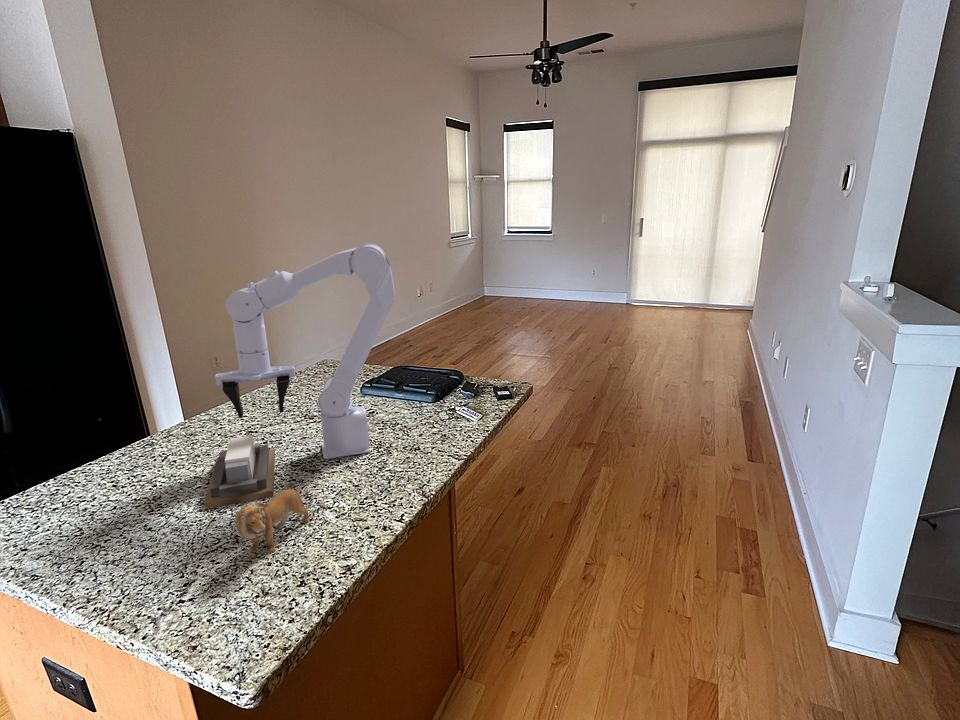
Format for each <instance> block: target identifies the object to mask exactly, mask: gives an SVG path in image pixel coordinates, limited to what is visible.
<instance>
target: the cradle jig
mask: <svg viewBox="0 0 960 720" xmlns="http://www.w3.org/2000/svg"><path fill="white" fill-rule="evenodd" d="M254 448H255V455H256V461H255V468H254V475H253V480H247V481H241V482H235V483H229V484H228V482H227V477H226V471H225V467H226V465H225V457H226V454H227V450H228V449H227V450H221V451H219V454H218V457H216V459H215V463H214V466H213V470H212V474H211V477H210V480H209V484H208V489H207V492H206V495H205V498H204V502H203V504H204V509H205V510H207V509H211V508H217V507H223V506H229V505H233V504H240V503H244V502H250V501H255V500H256V501H257V500H262V499H266V498H274V497H275V496H274V495H275V494H274V491H275V488H274V487H275V472H276V471H275V469H276V450H275V448H272V449H271V448H270V447H269V443H268V444H267V443H266V444H261V443H258V444H254Z"/></svg>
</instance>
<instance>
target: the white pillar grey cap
mask: <svg viewBox="0 0 960 720" xmlns="http://www.w3.org/2000/svg"><path fill="white" fill-rule="evenodd" d="M253 436H254V435H252V434H251V435H246V436H238V437H233V438H231V437H230V439H229V444H228V448H227V454H226V457H225V465H226V467H225V471H226V477H227V482H228V484H229V483H235V482H241V481H247V480H253V475H254V468H255V461H256V455H255V448H254V445H255V444H254V443H255V442H254V437H253Z"/></svg>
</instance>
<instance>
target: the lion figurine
mask: <svg viewBox="0 0 960 720" xmlns="http://www.w3.org/2000/svg"><path fill="white" fill-rule="evenodd" d="M288 511H291V512H292V513H295V514H297V515H303V517H302V518H301V523H302V524H307V523H309V522H310V515H309V511H308V508H307V507H304V504H303V499H302V497H301V494H300V493H299V492H298V491H297V490H295V489H293V488H290V489H285V490H281V491H279V492H278V493H277V494H276V495H275V496H273V497H272V499H271V500H269V501H268V502H266V503H265V504H264V503H262V502H257V503H249V504H246V505H244V506H243V507H241V508H240V509H239V510H238V511H237V515H236V516H235V517H234V520H235V527H236V530H237V531H238V533H239V535H240V537H241V538H243V539H244V540H246V541H251V544H252V546H250V547H249V552H250V553H256V552H257V551H258V550H259V548H260V547H259V546H260V541H259V540H261V539H263V537H264V538H265V541H266V545H265V547H266V549H265V551H266V553H267V554H272V553H274V552H275V550H276V547H275V543H274V531H273V530H274V526H275V525H276V526H275V527H276V529H279V530H280V529H282V528H284V527H285V526H286V523H287V521H288V519H289V512H288Z"/></svg>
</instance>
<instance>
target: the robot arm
mask: <svg viewBox="0 0 960 720" xmlns="http://www.w3.org/2000/svg"><path fill="white" fill-rule="evenodd" d="M353 273H354V274H355V275H356V276H357V277H358V279H360V280H361V282H362V283H363V284H364V286H365V288H366V290H367V293H368V296H369V300H368V302H367V304H366V306H365V309H364V311H363V312H362V314H361V317H360V319H359V320H358V323H357V325H356V327H355V329H354V332H353V334H352V335H351V337H350V340H349V342H348V344H347V347H346V348H345V351H344V353H343V355H342V357H341V359H340V361H339V363H338V365H337V367H336V369H335V371H334V373H333V374H332V375H330V376H328V378H326V380H325V381H324V384H323V388H322V390H321V392H320V393H319V396H318V397H317V398H318V399H317V404H318V407H319V411H320V420H321V431H322V432H321V433H322V438H323V442H321V450H322V456H323V459H324V460H331V459H336V458H343V457H348V456H354V455H360V454H367V453H369V452H371V448H370V432H369V424H368V423H369V421H368V417H367V411H366V408H365V406H359V407H358V406H356V404H355V403H354V401H353V400H352V396H353V394H354V391H355V390H354V389H355V384H356V382H357V380H358V377H359V375H360V373H361V370H362V369H363V367H364V365H365V362H366V361H367V358H368V357H369V354H370V352H371V351H372V349H373V346H374V344H375V342H376V340H377V338H378V336H379V333H380V331H381V329H382V328H383V326H384V323H385V322H386V319H387V318H388V315H389V313H390V311H391V310H392V307H393V305H394V303H395V299H396V291H395V284H394V279H393V273H392V267H391V261H390V260H389V258H388V256H387V254H386V253H385V251H384V250H383V248H382V247H381V246H379V245H377V244H375V243H365V244H363V245H361V246H359V247H358V249H357V247H353V248H349V249H346V250H342V251H340V252H339V251H338V252H337V253H334V254H332V255H330V256H328V257H326V258H324V259H321V260H320V261H318V262H315V263H314V264H311V265H309V266H307V267H304V268H303V269H301V270H299V271H297V272H294V273H290V272H288V271H285V270H281V271H280V272H278V270H275V271H272V272H270V273H269V277H266V278H264V279H262V280H260V281H257V282H256V283H254V282H253V281H251V282H249V283H247V284H246V286H247V287H245V288H244V287H243V288H241V289H239V290H236V291H234V292H233V293H232V294H230V296H229V297H228V298H227V300H226V302H225V309H226V312H227V313H228V315H229V316H230V317H231V320H232V327H233V334H234V335H233V336H234V341H235V349H236V354H237V362H238V368H239V369H238V370H232V371H227V372H221V373H216V374H215V375H214V377H215V379H214V380H215V385H216V387H217V386H218V387H219V386H222V392H223V393H224V394H225V396H226V397H227V398H228V400H230V402H231V403H232V405H233V407H234V409H235V410H236V413H237V416H238V419H243V418H244V409H243V408H244V407H243V403H242V400H241V394H240V393H241V392H240V384H239V383H243V382H253V381H255V382H256V381H262V380H263V381H265V380H272V379H276V382H275V383H276V389H277V395H278V410H279V414H280V413H281V414H282V413H284V404H285V398H286V394H287V390H288V388H289V385H290V382H291V381H290V378H295V377H296V374H295V367H294V365H284V366H283V365H281V366H276V365H275V366H271V361H270V354H269V352H270V351H269V347H268V338H267V330H266V325H265V319H264V312H269V311H271V310H272V311H273V310H274V309H276V308H278V307H280V306H283V305H285V304H287V303H289V302H291V301H294V300H296V299H298V298H299V295H300V292H301V289H304V288H305V287H308V286H311V285H314V284H316V283H318V282H320V281H322V280H325V279H327V278H330V277H332V276H335V275H343V276H349V277H351V276H352V275H353Z"/></svg>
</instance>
